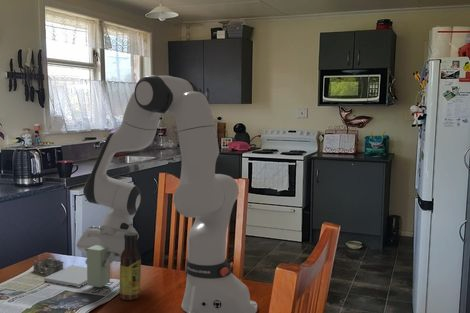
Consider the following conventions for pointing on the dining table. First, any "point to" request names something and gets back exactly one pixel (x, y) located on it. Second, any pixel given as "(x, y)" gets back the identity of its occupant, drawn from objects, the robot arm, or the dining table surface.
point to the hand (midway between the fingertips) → (96, 265)
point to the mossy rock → (50, 262)
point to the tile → (69, 276)
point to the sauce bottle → (130, 268)
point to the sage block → (97, 266)
